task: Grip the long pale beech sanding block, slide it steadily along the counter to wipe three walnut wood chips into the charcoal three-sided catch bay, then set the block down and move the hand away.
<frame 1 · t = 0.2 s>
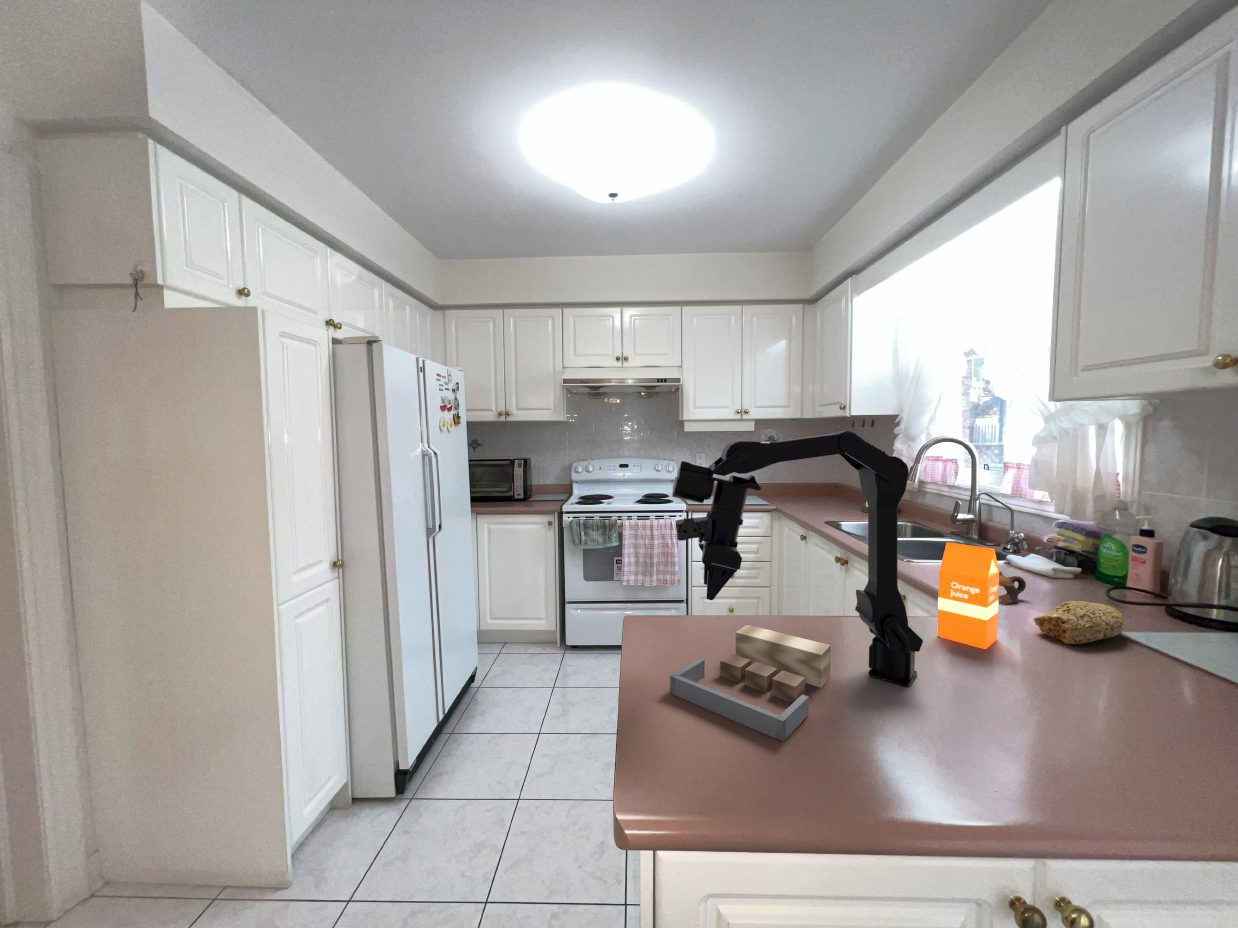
hand: (707, 591, 91), 15 cm above the worktop, tool pointing down, fingers open, 9 cm apart
tan porous lump: (1080, 635, 108), on the worktop
walnut chip 2: (788, 695, 83), on the worktop
sanding block: (781, 669, 93), on the worktop
pottery mug: (999, 599, 132), on the worktop
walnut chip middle: (761, 685, 87), on the worktop
catch bay: (734, 704, 80), on the worktop
orange juice: (966, 638, 106), on the worktop
walnut chip 1: (735, 676, 90), on the worktop
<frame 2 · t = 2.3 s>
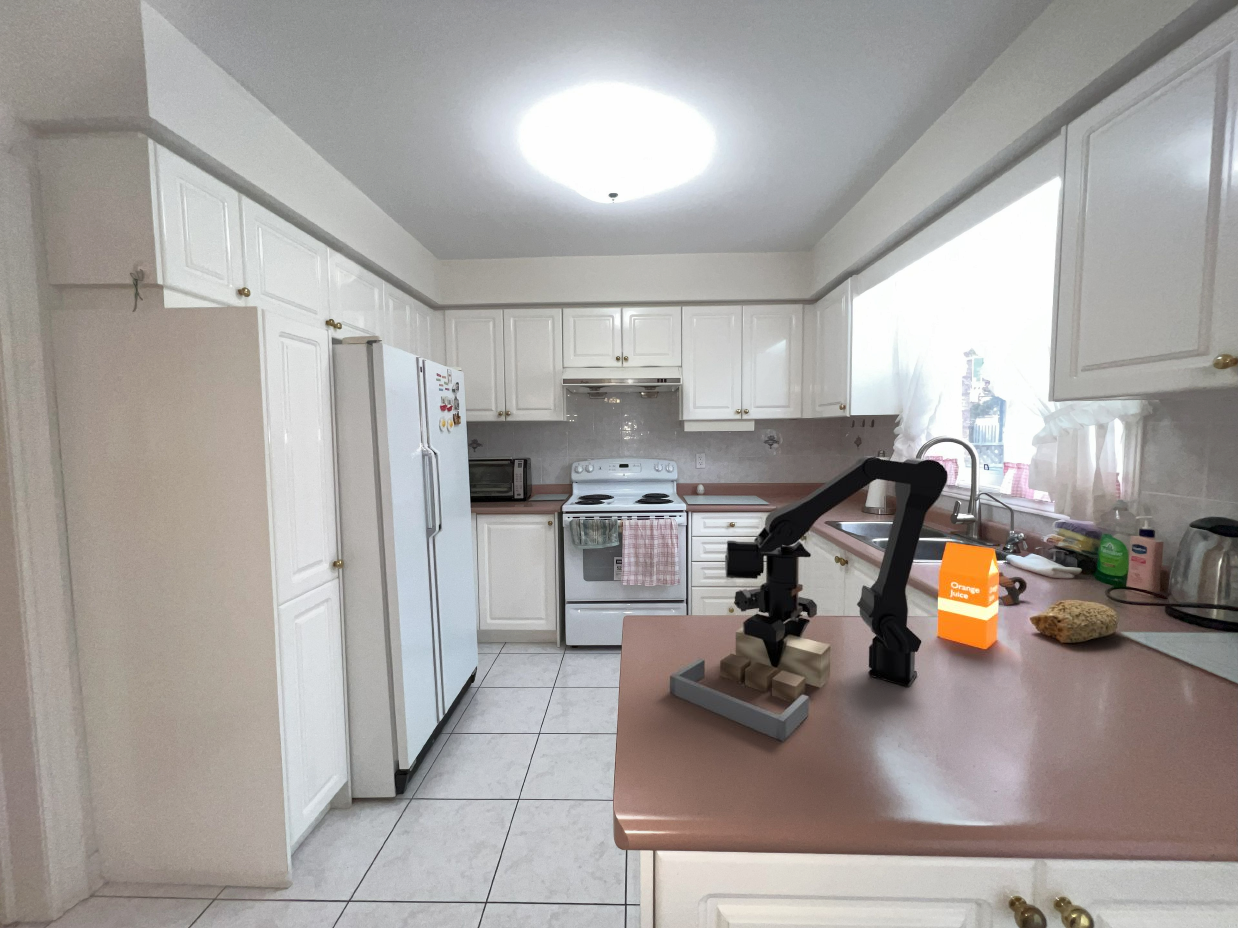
hand: (781, 661, 92), 1 cm above the worktop, tool pointing down, fingers open, 5 cm apart
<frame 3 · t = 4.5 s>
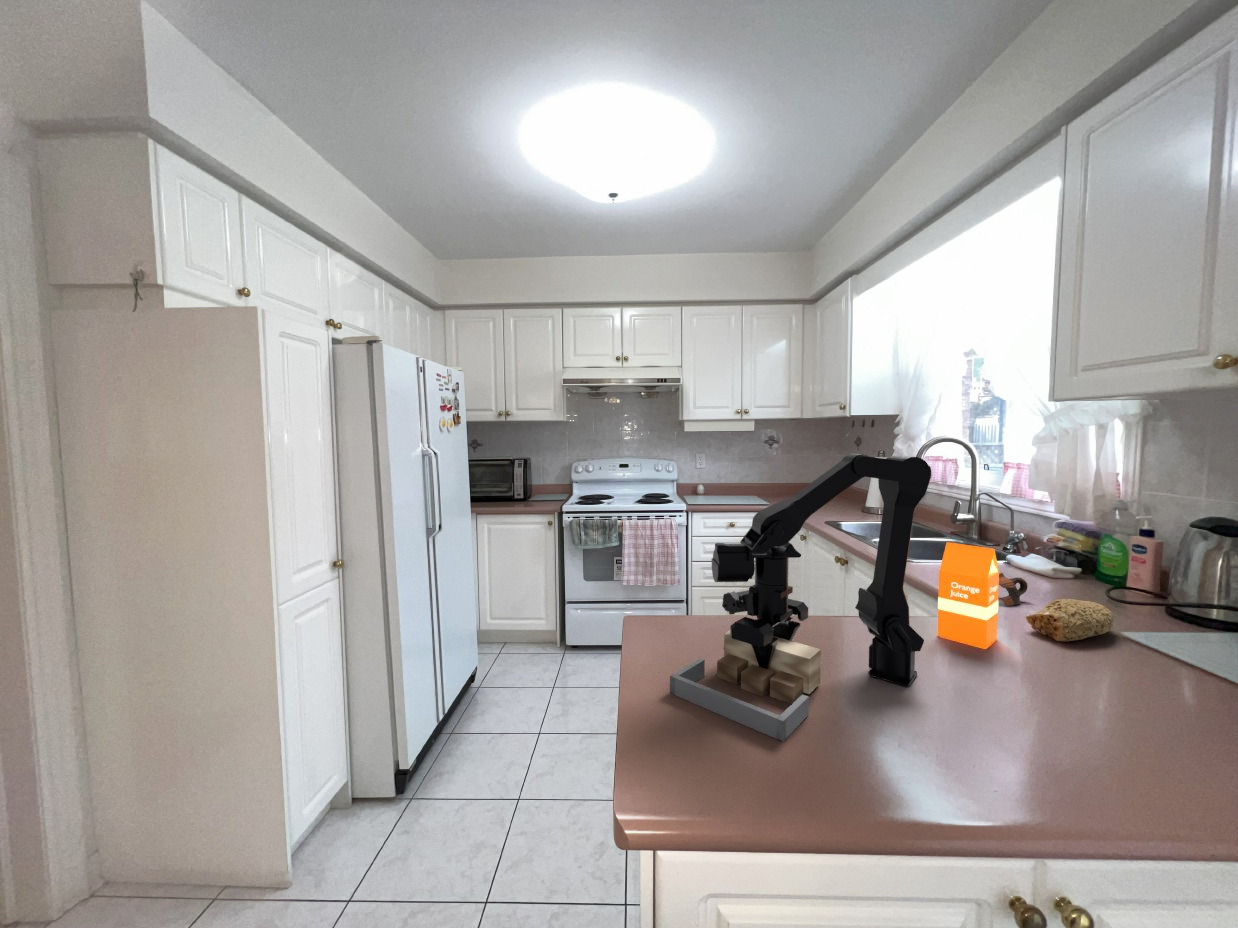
hand: (770, 666, 89), 2 cm above the worktop, tool pointing down, fingers closed on sanding block, 5 cm apart
sanding block: (770, 673, 90), point 1 cm above the worktop, touching gripper
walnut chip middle: (757, 688, 85), on the worktop, touching gripper
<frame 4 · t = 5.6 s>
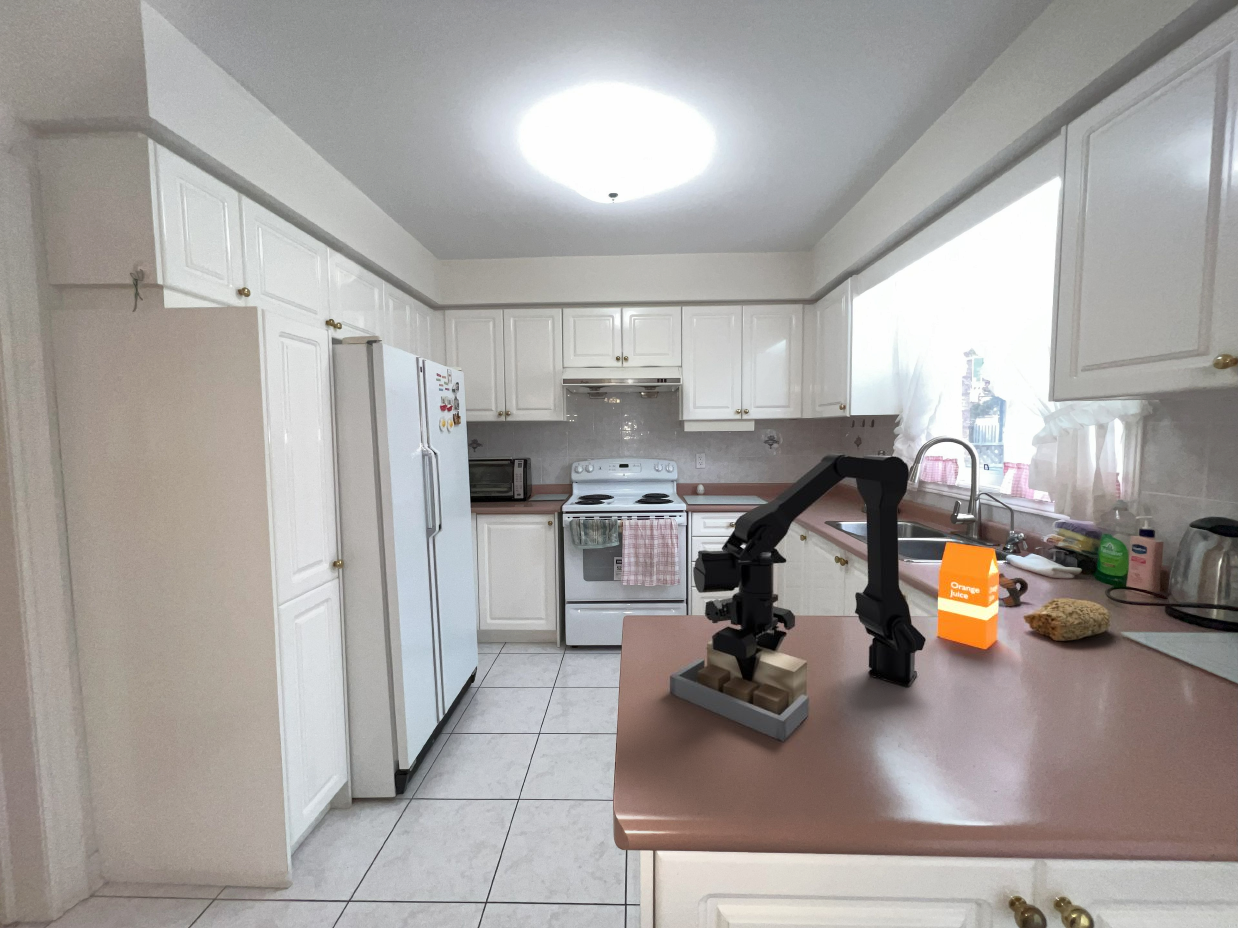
hand: (755, 678, 85), 2 cm above the worktop, tool pointing down, fingers closed on sanding block, 5 cm apart
walnut chip 2: (770, 710, 79), on the worktop, touching sanding block
sanding block: (754, 685, 85), on the worktop, touching gripper, walnut chip 2
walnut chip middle: (740, 702, 81), on the worktop, touching gripper
walnut chip 1: (714, 687, 86), on the worktop
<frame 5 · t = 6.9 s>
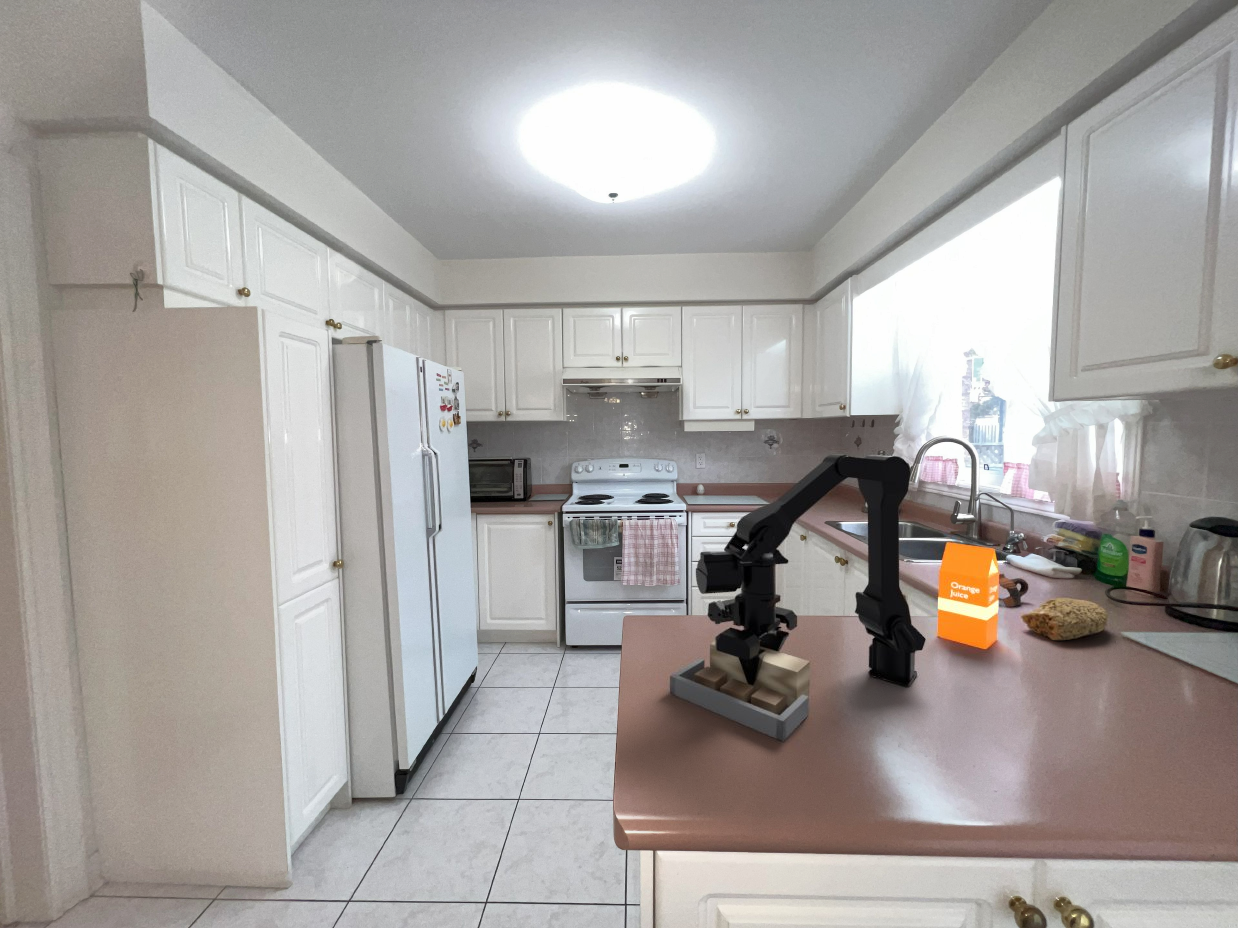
hand: (758, 678, 86), 2 cm above the worktop, tool pointing down, fingers closed on sanding block, 5 cm apart
walnut chip 2: (768, 713, 78), on the worktop
sanding block: (757, 686, 86), on the worktop, touching gripper
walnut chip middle: (737, 704, 81), on the worktop
when the fingers open (2 cm above the worktop, at t = 7.8 s): sanding block stays where it is, on the worktop.
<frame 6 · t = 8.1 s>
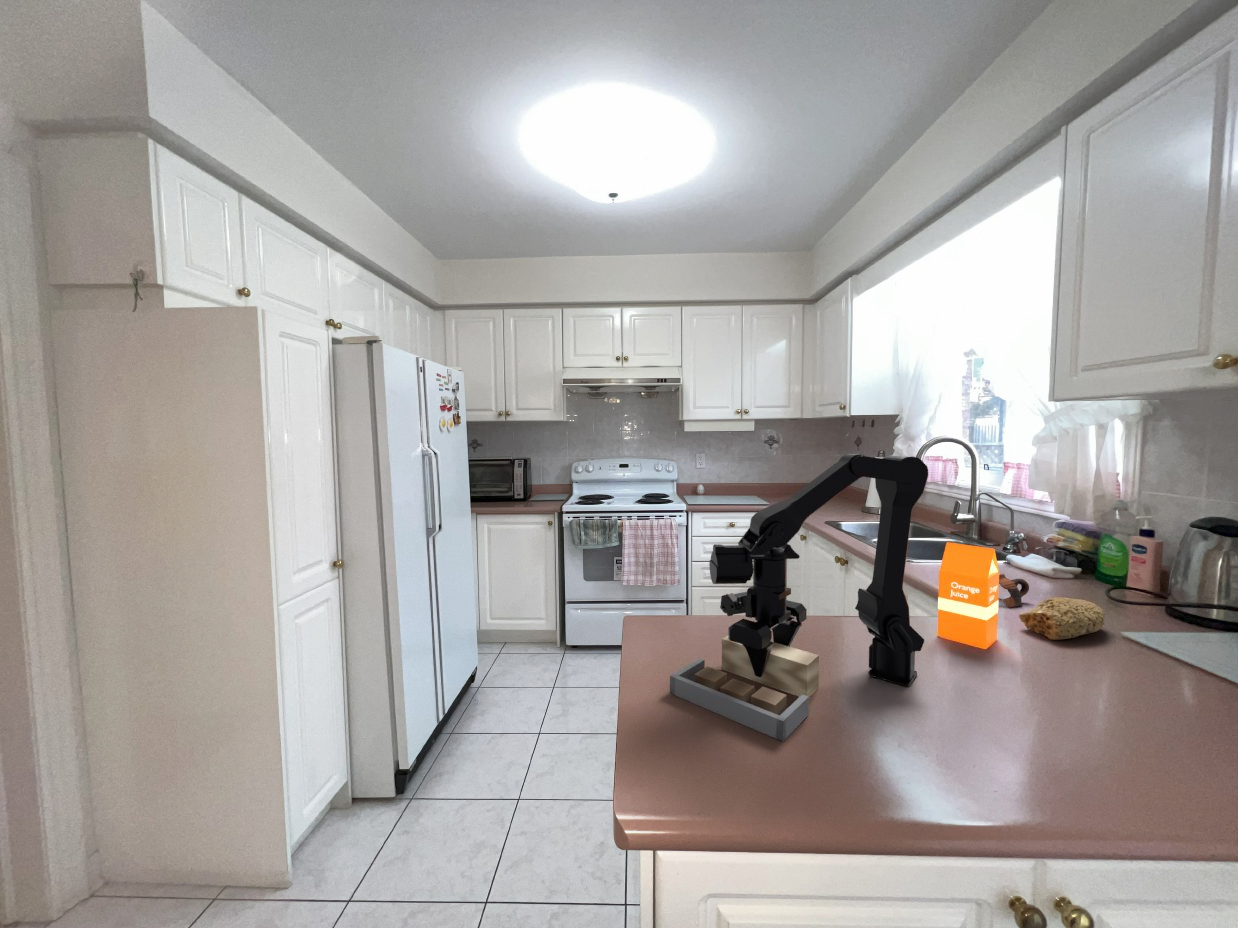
hand: (768, 668, 89), 2 cm above the worktop, tool pointing down, fingers open, 8 cm apart
sanding block: (768, 679, 89), on the worktop
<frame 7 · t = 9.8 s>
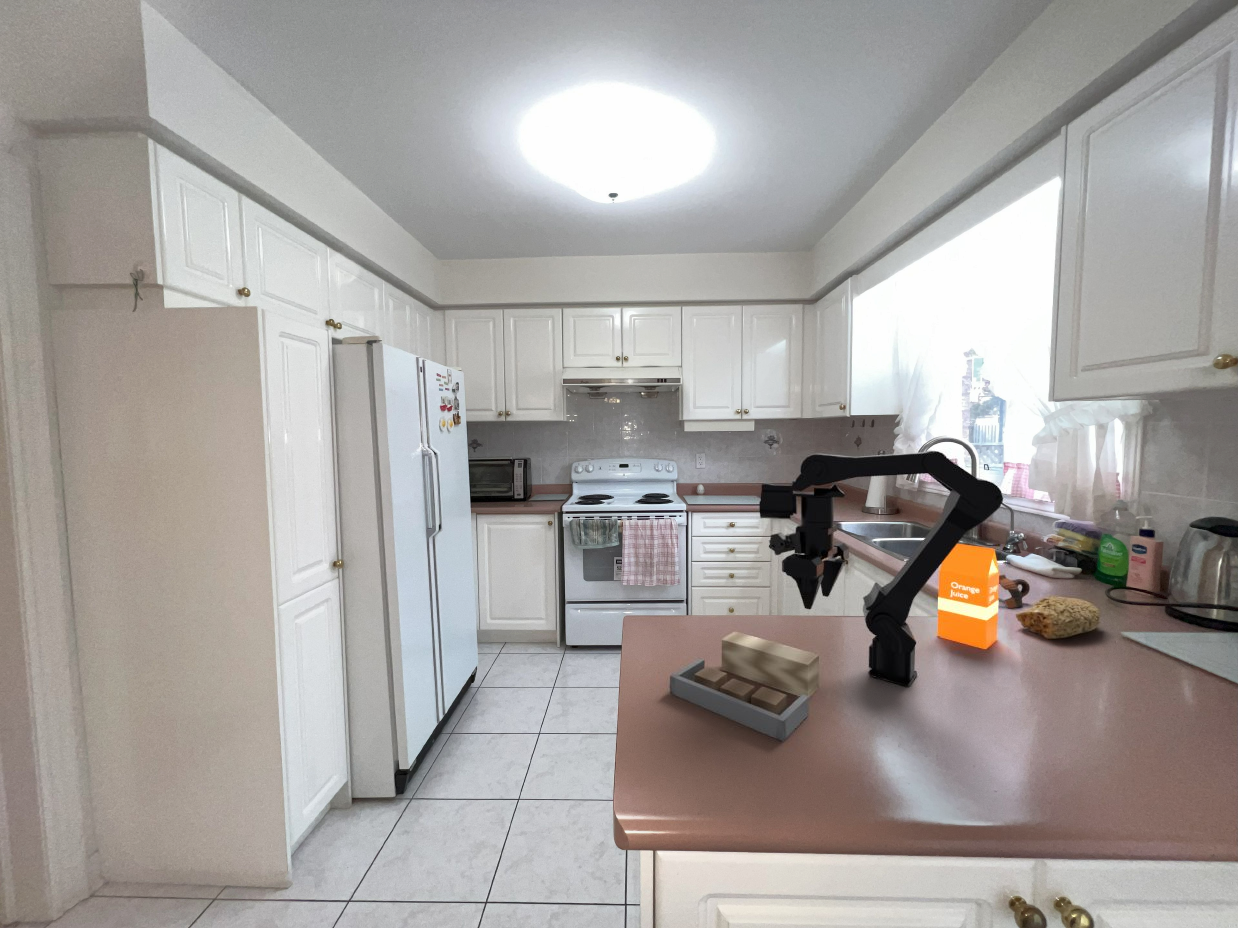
hand: (817, 602, 94), 12 cm above the worktop, tool pointing down, fingers open, 9 cm apart
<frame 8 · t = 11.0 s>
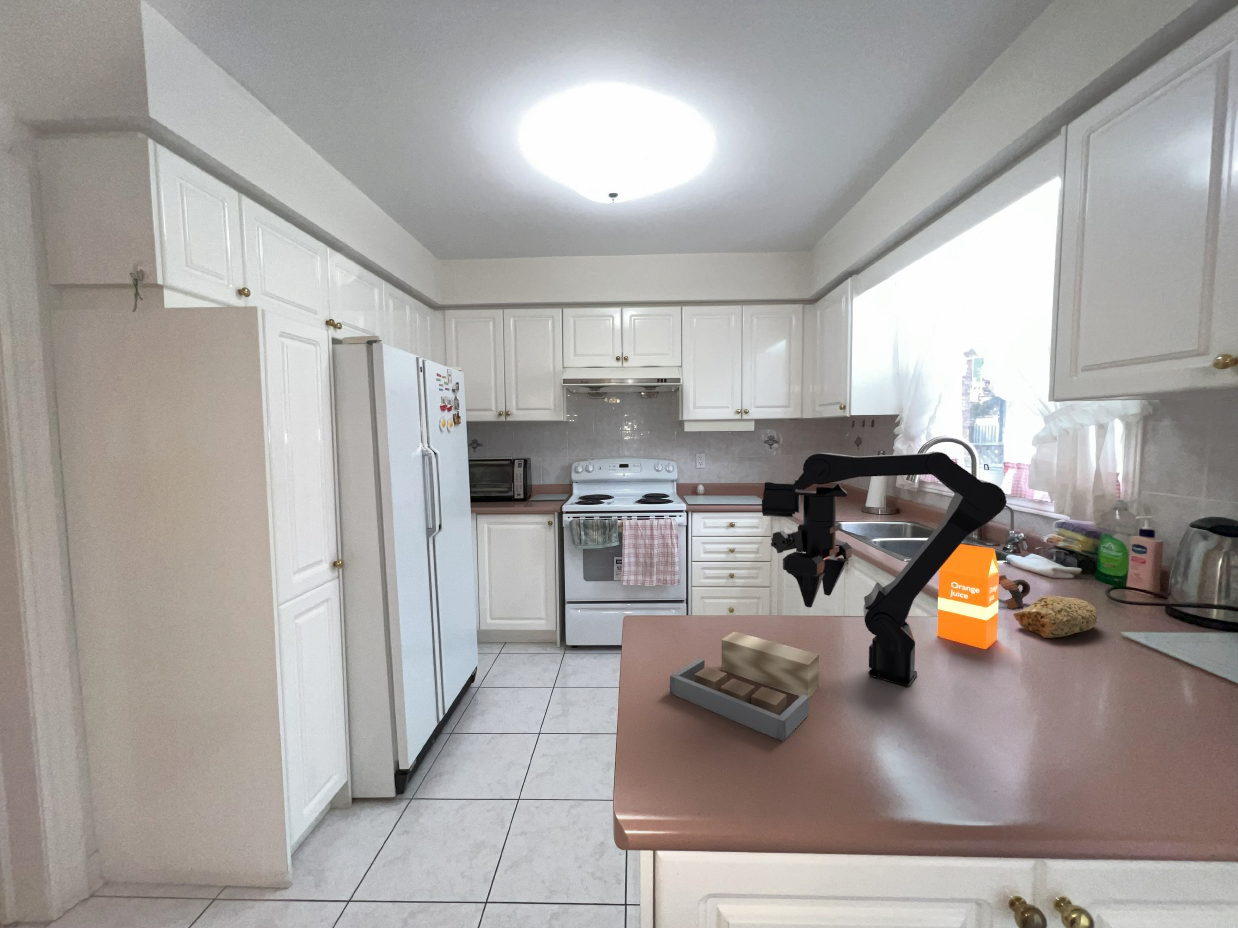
hand: (818, 600, 94), 12 cm above the worktop, tool pointing down, fingers open, 9 cm apart
at the end: walnut chip 2 inside the target area (5.2 cm from its centre), on the worktop; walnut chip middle inside the target area (0.1 cm from its centre), on the worktop; walnut chip 1 inside the target area (5.6 cm from its centre), on the worktop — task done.
